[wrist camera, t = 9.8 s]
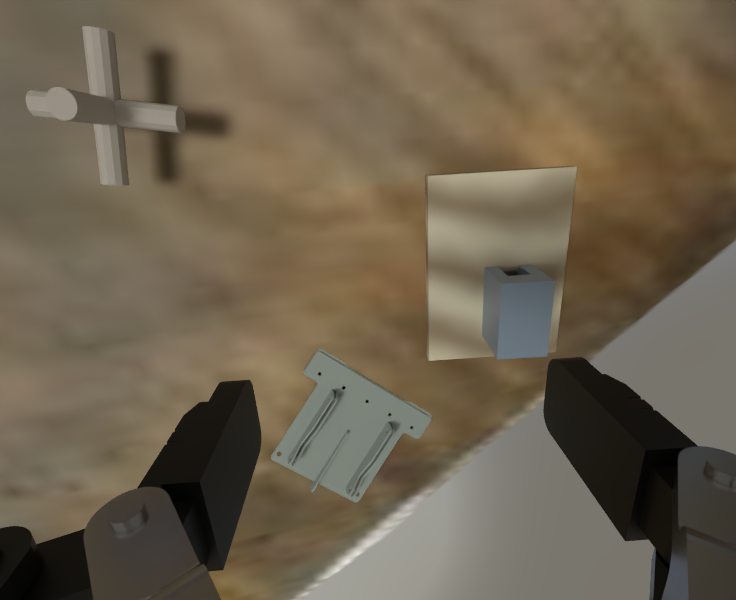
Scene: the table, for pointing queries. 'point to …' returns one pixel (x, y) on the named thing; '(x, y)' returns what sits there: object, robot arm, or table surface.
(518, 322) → the block
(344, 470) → the metal bracket
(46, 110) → the grey cross-shaped piece
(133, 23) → the table surface
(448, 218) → the board
